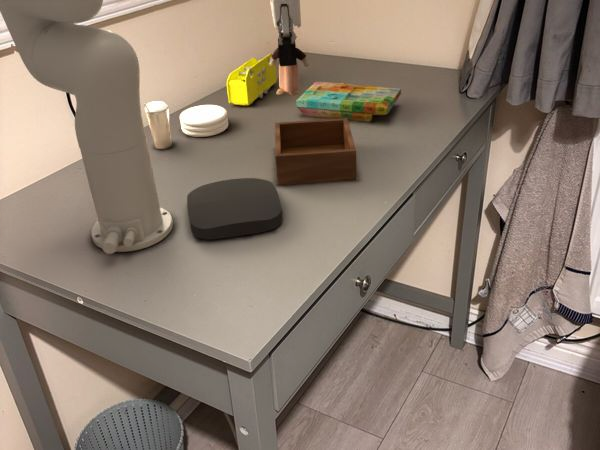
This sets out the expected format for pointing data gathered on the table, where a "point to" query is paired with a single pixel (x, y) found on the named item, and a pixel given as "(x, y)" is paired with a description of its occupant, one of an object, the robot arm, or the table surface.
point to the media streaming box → (234, 208)
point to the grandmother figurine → (289, 72)
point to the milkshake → (159, 123)
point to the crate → (314, 151)
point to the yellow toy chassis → (251, 81)
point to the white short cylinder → (204, 120)
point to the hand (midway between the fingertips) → (287, 61)
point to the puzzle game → (346, 101)
